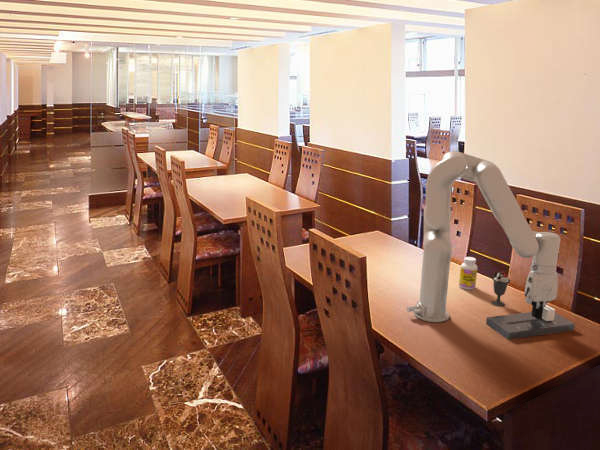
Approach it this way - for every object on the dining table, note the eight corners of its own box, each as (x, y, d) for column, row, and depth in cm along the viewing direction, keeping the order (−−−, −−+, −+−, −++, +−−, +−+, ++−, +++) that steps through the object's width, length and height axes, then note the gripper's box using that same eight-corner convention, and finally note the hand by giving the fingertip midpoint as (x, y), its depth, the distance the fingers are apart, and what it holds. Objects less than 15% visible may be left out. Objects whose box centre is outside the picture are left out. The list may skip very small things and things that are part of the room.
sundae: (508, 308, 190) (513, 271, 186) (490, 306, 191) (494, 269, 187) (505, 301, 196) (510, 265, 192) (487, 299, 197) (492, 264, 193)
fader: (546, 321, 172) (548, 310, 171) (536, 315, 177) (538, 304, 176) (553, 320, 173) (555, 309, 172) (543, 314, 178) (545, 303, 177)
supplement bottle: (459, 289, 207) (462, 260, 204) (457, 283, 213) (460, 255, 210) (476, 290, 206) (479, 261, 203) (473, 284, 212) (476, 256, 209)
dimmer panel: (508, 339, 165) (509, 332, 164) (486, 323, 176) (486, 317, 176) (574, 330, 172) (575, 323, 172) (548, 315, 183) (549, 309, 183)
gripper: (532, 273, 164) (525, 324, 168) (569, 270, 167) (562, 319, 172) (517, 266, 171) (511, 314, 175) (553, 262, 174) (546, 310, 179)
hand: (536, 317), depth 174 cm, fingers closed
